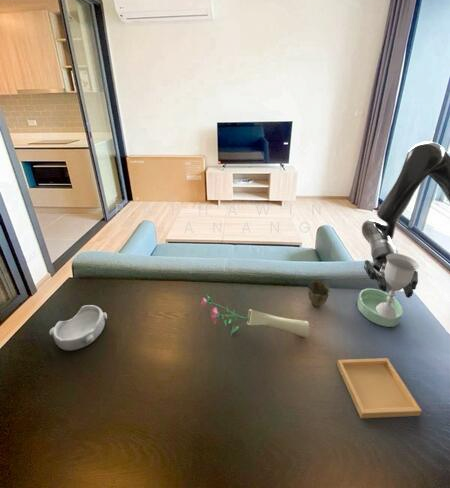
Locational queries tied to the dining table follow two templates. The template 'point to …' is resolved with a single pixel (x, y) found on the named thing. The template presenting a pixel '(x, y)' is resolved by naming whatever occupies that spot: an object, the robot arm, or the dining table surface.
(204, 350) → the dining table surface
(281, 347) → the dining table surface
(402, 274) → the chalice
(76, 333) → the dish
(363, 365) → the tray
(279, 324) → the flower vase
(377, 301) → the bowl
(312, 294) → the cup
